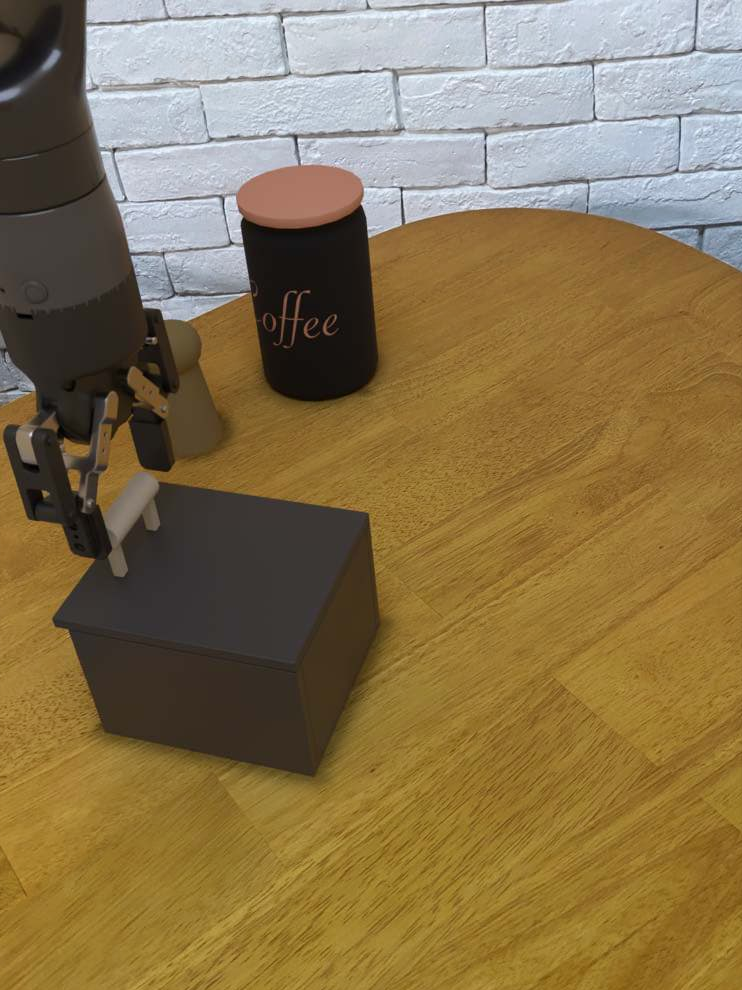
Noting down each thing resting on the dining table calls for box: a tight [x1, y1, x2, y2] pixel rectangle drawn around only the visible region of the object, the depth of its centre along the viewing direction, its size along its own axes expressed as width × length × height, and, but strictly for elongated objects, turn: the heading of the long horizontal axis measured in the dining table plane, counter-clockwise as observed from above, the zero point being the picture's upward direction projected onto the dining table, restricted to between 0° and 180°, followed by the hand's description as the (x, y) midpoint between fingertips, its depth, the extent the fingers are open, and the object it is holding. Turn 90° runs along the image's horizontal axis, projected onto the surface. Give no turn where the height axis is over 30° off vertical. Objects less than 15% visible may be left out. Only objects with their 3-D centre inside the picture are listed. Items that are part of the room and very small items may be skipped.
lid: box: [51, 471, 371, 672], centre depth 69 cm, size 16×14×5 cm
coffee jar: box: [235, 164, 379, 402], centre depth 99 cm, size 11×11×18 cm
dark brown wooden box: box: [68, 522, 381, 778], centre depth 74 cm, size 15×14×10 cm
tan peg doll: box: [148, 318, 224, 457], centre depth 95 cm, size 6×6×11 cm
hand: (127, 509), depth 69 cm, fingers open, 8 cm apart
